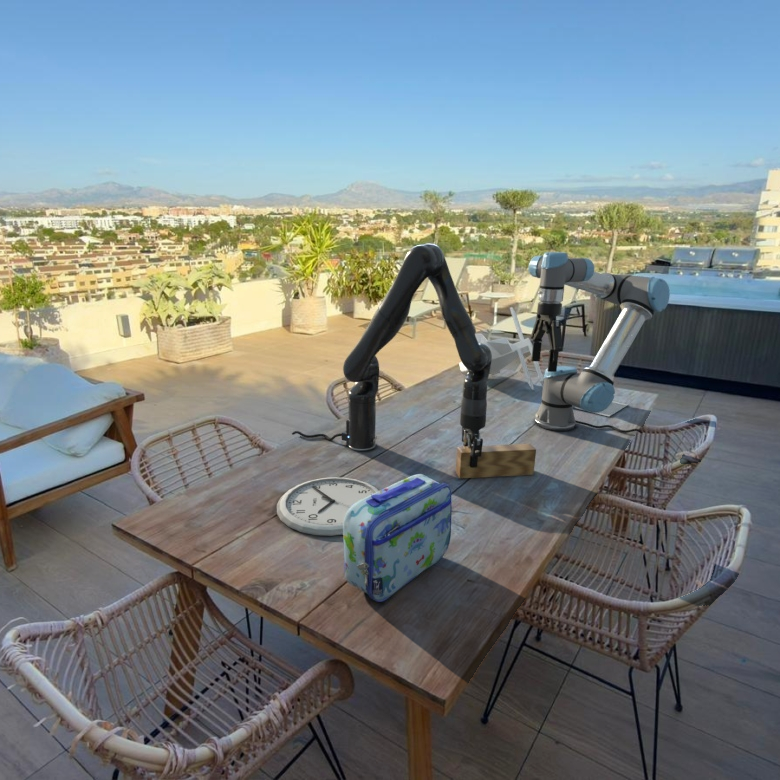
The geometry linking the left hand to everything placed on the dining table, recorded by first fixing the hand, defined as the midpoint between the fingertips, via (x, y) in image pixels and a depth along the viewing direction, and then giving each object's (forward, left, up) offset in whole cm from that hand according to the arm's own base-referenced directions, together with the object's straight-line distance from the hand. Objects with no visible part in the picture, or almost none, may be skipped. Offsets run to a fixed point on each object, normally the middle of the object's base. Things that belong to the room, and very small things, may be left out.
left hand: (470, 462), depth 161 cm
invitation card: (+23, +92, -4) cm, 95 cm away
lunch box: (+6, -54, -4) cm, 54 cm away
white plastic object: (-27, +100, -4) cm, 104 cm away
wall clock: (-24, -38, -4) cm, 45 cm away
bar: (+6, +5, -4) cm, 9 cm away
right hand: (+11, +32, +25) cm, 42 cm away
